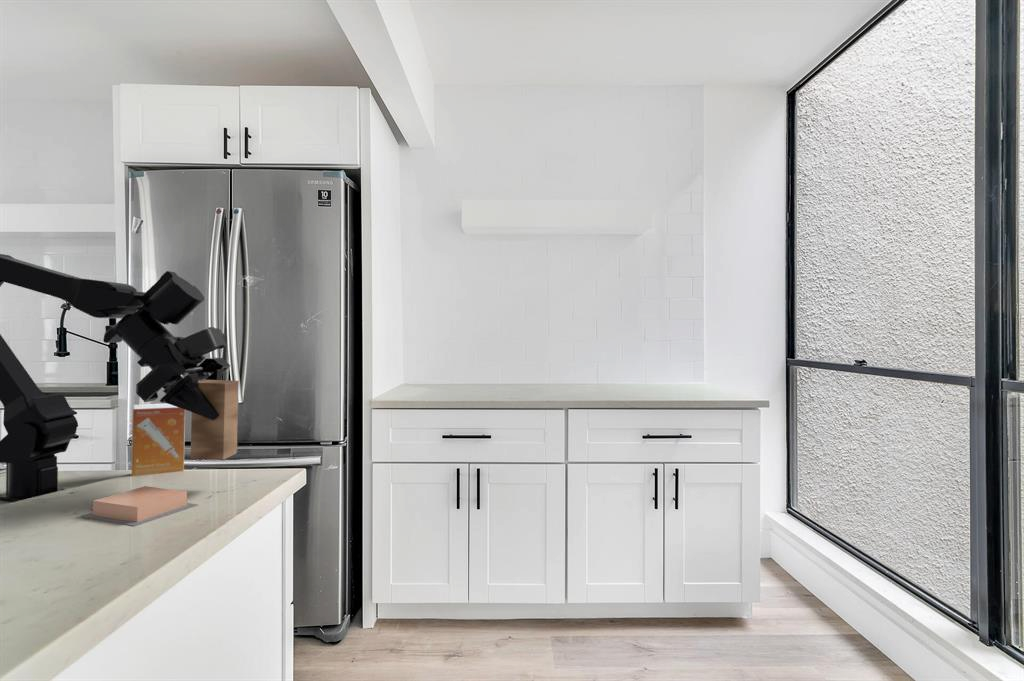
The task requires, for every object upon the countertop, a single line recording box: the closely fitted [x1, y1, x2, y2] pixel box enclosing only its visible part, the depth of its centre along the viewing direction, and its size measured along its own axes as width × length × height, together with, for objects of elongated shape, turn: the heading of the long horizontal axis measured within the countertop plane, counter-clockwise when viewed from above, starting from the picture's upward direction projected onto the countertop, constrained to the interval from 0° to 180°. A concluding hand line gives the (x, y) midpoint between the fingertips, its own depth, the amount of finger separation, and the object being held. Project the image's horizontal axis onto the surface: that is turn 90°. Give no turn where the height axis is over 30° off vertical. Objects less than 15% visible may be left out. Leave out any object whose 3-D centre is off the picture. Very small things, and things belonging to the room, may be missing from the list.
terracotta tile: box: [92, 485, 188, 522], centre depth 82 cm, size 8×8×2 cm
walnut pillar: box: [190, 379, 240, 461], centre depth 92 cm, size 5×5×12 cm
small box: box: [131, 403, 186, 477], centre depth 105 cm, size 8×6×13 cm
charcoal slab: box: [81, 502, 199, 527], centre depth 82 cm, size 10×10×2 cm
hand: (224, 415), depth 92 cm, fingers closed on walnut pillar, 5 cm apart
